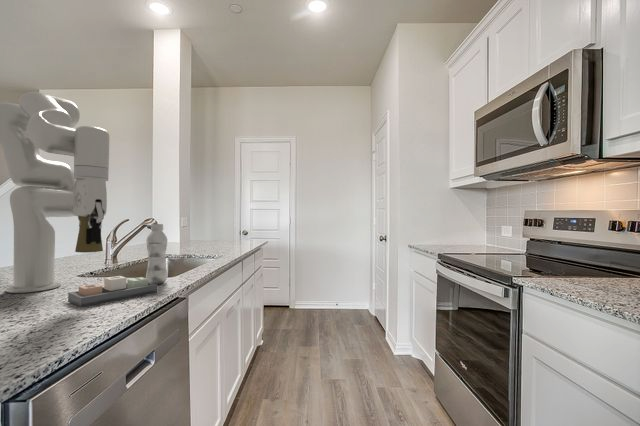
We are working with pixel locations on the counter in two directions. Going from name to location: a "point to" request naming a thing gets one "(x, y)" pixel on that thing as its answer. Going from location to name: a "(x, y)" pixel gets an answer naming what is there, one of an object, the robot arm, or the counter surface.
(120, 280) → the key cream
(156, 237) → the plastic bottle
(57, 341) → the counter surface
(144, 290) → the base
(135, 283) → the key sage
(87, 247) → the olive rounded piece
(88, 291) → the peach square block
